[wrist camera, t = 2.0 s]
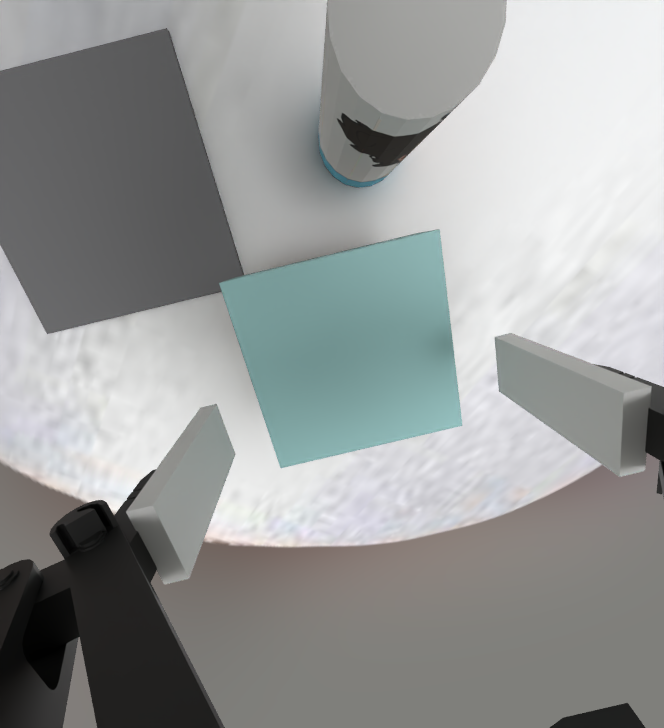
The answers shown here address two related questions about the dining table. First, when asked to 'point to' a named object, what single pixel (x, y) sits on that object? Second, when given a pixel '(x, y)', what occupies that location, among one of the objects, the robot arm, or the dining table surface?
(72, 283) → the mat
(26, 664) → the robot arm
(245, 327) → the lid
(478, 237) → the dining table surface
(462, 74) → the printed grey cylinder
